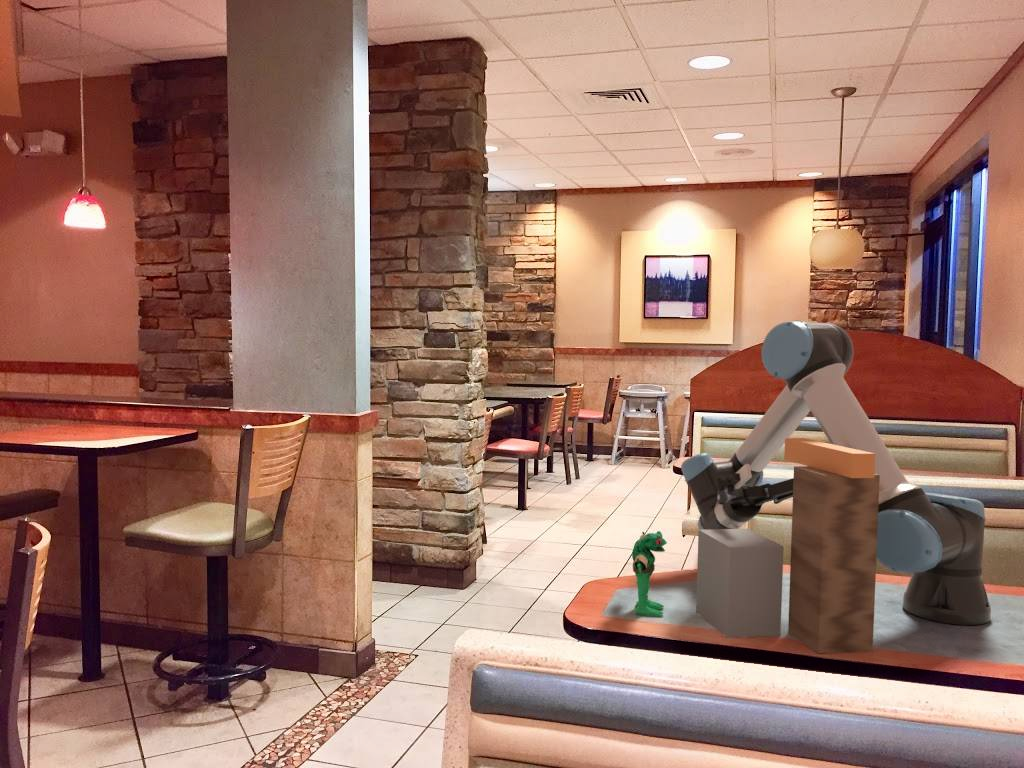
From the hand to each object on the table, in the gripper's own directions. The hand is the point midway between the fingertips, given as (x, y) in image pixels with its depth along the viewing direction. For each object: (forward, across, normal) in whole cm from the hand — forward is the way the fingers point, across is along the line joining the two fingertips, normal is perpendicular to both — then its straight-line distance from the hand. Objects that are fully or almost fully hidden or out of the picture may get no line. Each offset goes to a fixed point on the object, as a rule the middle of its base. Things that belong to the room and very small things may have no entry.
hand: (781, 470), depth 159 cm
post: (+2, 0, -33) cm, 33 cm away
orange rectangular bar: (+14, 0, -5) cm, 15 cm away
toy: (-15, +26, -23) cm, 38 cm away
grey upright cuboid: (-7, +12, -27) cm, 31 cm away
